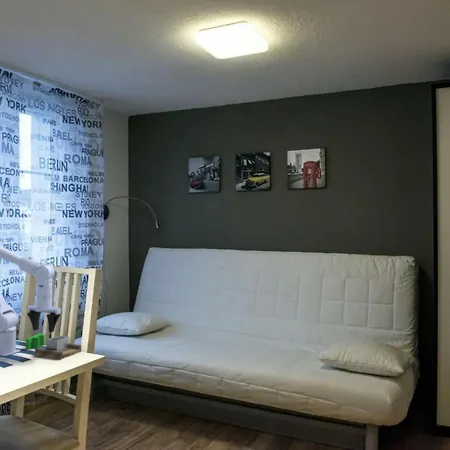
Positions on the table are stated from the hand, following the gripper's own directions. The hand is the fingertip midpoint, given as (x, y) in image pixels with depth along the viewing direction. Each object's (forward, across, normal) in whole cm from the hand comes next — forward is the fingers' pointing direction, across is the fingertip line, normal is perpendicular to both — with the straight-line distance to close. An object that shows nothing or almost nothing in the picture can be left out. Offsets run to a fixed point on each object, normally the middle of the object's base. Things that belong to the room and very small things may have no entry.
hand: (43, 330), depth 188 cm
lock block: (+8, +4, +4) cm, 10 cm away
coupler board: (+9, +4, +4) cm, 11 cm away
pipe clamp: (+10, -11, +9) cm, 17 cm away
